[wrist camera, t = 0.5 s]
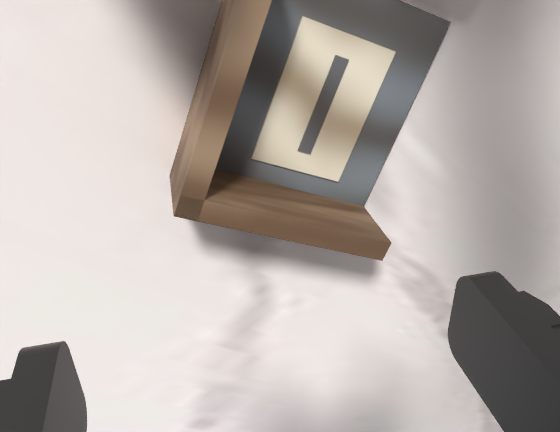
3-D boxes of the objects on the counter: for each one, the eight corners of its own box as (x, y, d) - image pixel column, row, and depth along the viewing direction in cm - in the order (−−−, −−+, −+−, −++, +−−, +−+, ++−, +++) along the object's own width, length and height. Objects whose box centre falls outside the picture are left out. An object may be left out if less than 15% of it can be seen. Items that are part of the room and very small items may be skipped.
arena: (242, -66, 31) (261, -64, 26) (447, 21, 36) (496, 37, 31) (169, 175, 37) (173, 216, 32) (353, 219, 42) (382, 260, 37)
